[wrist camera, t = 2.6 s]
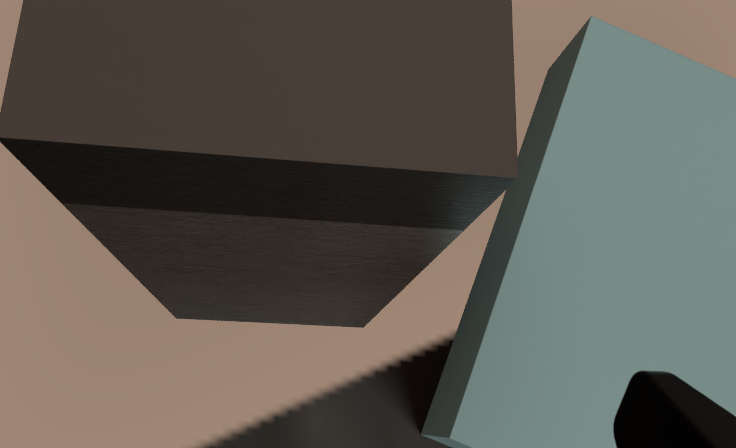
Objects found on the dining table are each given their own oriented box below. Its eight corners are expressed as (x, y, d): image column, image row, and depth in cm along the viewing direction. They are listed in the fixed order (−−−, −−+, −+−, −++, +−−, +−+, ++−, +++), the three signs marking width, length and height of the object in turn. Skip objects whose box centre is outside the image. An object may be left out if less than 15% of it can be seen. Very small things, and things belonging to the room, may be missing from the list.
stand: (830, 605, 18) (937, 642, 15) (420, 434, 18) (449, 437, 15) (886, 215, 21) (980, 185, 19) (548, 69, 21) (591, 15, 18)
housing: (363, 327, 18) (517, 177, 7) (176, 318, 17) (-4, 137, 6) (368, 157, 20) (504, -205, 8) (195, 144, 19) (78, -270, 7)
